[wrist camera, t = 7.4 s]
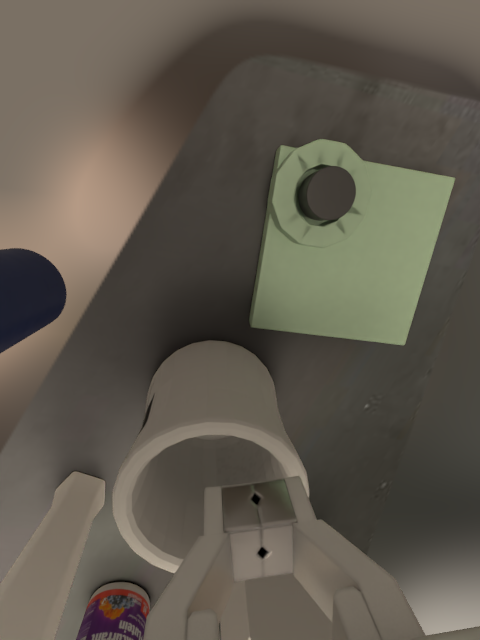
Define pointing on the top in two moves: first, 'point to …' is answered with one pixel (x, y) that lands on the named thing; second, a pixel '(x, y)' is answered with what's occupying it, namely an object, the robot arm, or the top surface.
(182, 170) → the top surface
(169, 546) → the mug
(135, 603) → the pill bottle
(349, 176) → the button
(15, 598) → the perfume bottle
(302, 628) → the gravestone
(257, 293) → the green block with ring
